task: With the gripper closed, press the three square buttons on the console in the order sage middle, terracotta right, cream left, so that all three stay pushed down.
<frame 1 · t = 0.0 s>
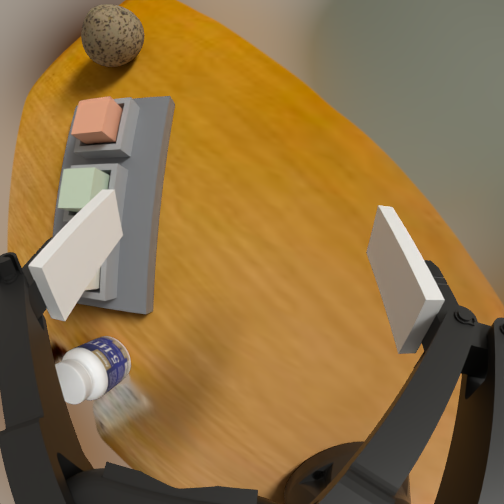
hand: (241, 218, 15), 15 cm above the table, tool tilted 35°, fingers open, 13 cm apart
decorative egg: (126, 56, 32), on the table
cream button: (76, 267, 26), point 5 cm above the table, slide at 0.0 cm
terracotta button: (97, 121, 26), point 5 cm above the table, slide at 0.0 cm
sage button: (84, 191, 26), point 5 cm above the table, slide at 0.0 cm
console: (109, 200, 31), on the table
pill bottle: (111, 357, 31), on the table
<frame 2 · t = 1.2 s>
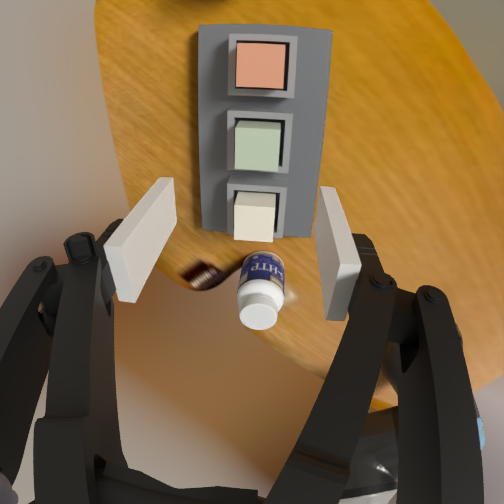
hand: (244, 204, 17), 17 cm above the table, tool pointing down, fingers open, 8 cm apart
cream button: (255, 216, 30), point 5 cm above the table, slide at 0.0 cm
terracotta button: (261, 65, 22), point 5 cm above the table, slide at 0.0 cm
sage button: (258, 144, 26), point 5 cm above the table, slide at 0.0 cm
console: (261, 131, 31), on the table
pill bottle: (263, 265, 40), on the table
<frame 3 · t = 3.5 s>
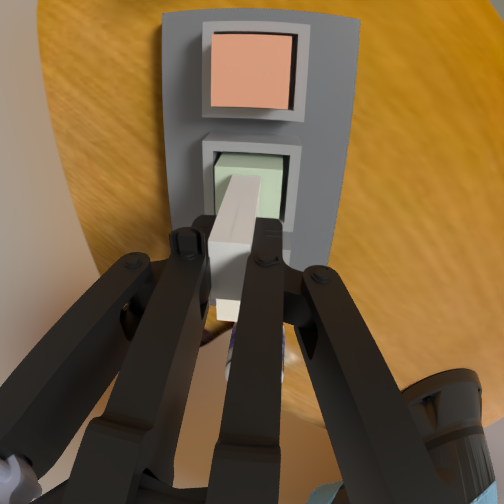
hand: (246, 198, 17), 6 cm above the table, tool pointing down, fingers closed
cream button: (245, 288, 22), point 5 cm above the table, slide at 0.0 cm
terracotta button: (252, 69, 14), point 5 cm above the table, slide at 0.0 cm
sage button: (249, 188, 19), point 5 cm above the table, slide at 0.9 cm, touching gripper
console: (255, 163, 22), on the table
pill bottle: (258, 326, 32), on the table
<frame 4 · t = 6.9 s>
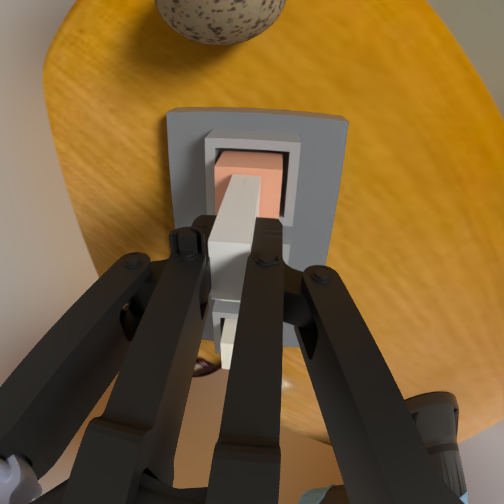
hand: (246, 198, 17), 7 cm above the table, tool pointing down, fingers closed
decorative egg: (233, 2, 16), on the table
cream button: (244, 344, 26), point 5 cm above the table, slide at 0.0 cm
terracotta button: (249, 188, 19), point 5 cm above the table, slide at 0.2 cm, touching gripper
sage button: (248, 270, 24), point 4 cm above the table, slide at 1.3 cm
console: (252, 240, 27), on the table
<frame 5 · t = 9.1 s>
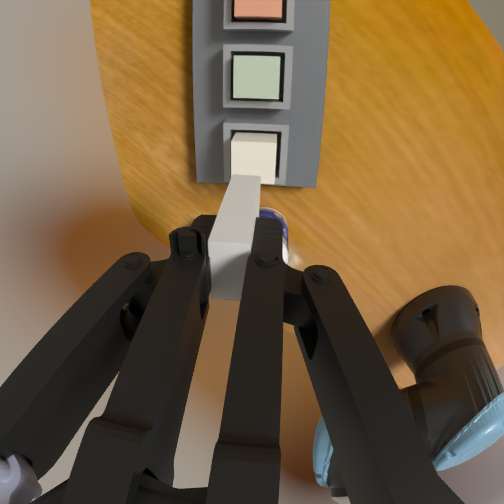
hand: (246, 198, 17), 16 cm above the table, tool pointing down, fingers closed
cream button: (254, 157, 26), point 5 cm above the table, slide at 0.0 cm
sage button: (257, 75, 23), point 4 cm above the table, slide at 1.3 cm
console: (260, 73, 27), on the table
pill bottle: (264, 225, 37), on the table
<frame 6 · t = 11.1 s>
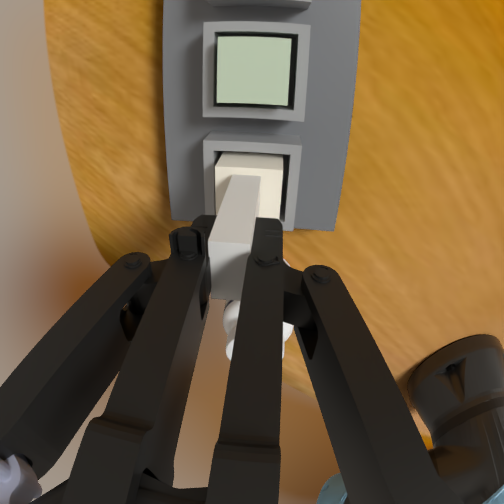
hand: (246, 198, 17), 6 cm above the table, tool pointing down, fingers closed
cream button: (250, 188, 19), point 5 cm above the table, slide at 0.8 cm, touching gripper
sage button: (255, 69, 15), point 4 cm above the table, slide at 1.3 cm
console: (259, 68, 19), on the table
pill bottle: (262, 272, 28), on the table
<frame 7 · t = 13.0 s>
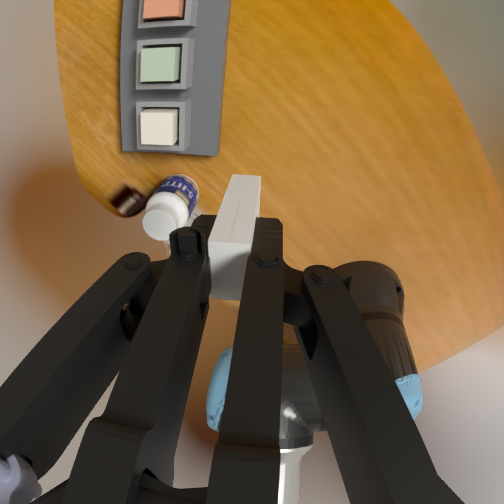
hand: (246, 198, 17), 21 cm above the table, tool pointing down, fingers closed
cream button: (161, 125, 32), point 4 cm above the table, slide at 1.3 cm
terracotta button: (166, 2, 23), point 4 cm above the table, slide at 1.3 cm
sage button: (162, 63, 28), point 4 cm above the table, slide at 1.3 cm
console: (174, 61, 31), on the table
pill bottle: (180, 190, 41), on the table
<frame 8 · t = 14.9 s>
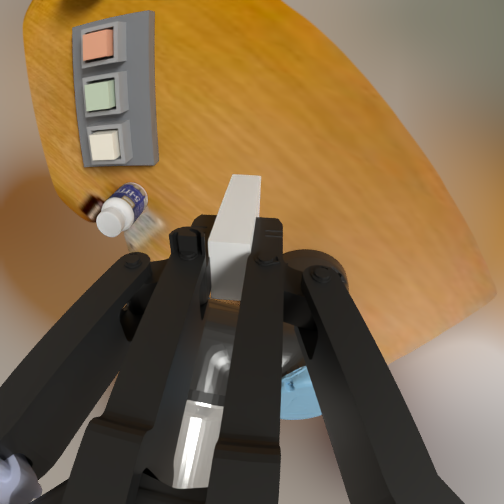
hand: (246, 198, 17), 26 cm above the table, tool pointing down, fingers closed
cream button: (107, 144, 38), point 4 cm above the table, slide at 1.3 cm
terracotta button: (100, 44, 30), point 4 cm above the table, slide at 1.3 cm
sage button: (102, 94, 34), point 4 cm above the table, slide at 1.3 cm
console: (116, 90, 38), on the table
pill bottle: (133, 196, 47), on the table
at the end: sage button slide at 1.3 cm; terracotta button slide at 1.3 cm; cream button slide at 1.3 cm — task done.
